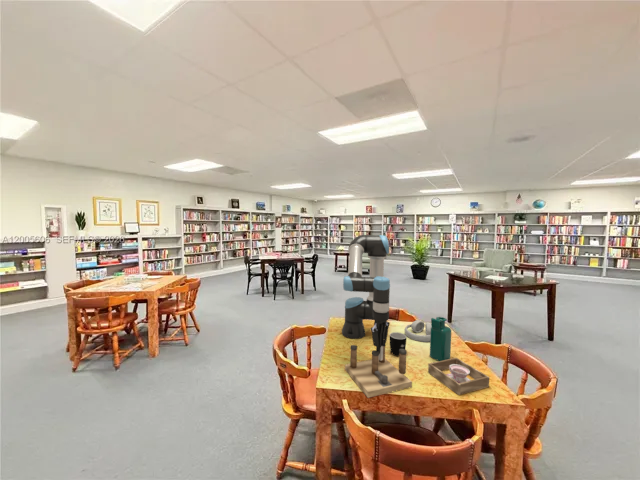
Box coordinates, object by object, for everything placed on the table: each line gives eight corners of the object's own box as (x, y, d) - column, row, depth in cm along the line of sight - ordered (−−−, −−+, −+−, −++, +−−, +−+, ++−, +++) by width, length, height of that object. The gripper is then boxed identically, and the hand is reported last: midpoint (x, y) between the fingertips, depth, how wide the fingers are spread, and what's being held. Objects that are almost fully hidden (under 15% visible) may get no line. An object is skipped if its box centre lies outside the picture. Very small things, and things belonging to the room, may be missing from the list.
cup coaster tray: (428, 372, 125) (428, 363, 125) (455, 366, 131) (456, 357, 131) (458, 395, 108) (459, 384, 108) (488, 386, 114) (489, 377, 114)
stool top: (345, 369, 127) (345, 344, 126) (383, 361, 134) (384, 338, 133) (367, 397, 106) (368, 368, 105) (411, 387, 113) (412, 359, 113)
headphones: (412, 326, 181) (400, 339, 166) (412, 315, 180) (400, 328, 165) (440, 333, 169) (430, 348, 154) (440, 322, 168) (430, 336, 153)
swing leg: (370, 370, 121) (370, 350, 120) (375, 369, 122) (376, 349, 121) (383, 384, 110) (383, 362, 110) (389, 383, 112) (390, 361, 111)
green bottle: (437, 352, 145) (438, 313, 144) (451, 358, 138) (453, 318, 137) (426, 357, 140) (428, 317, 138) (441, 364, 133) (443, 322, 131)
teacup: (479, 384, 116) (479, 371, 116) (464, 393, 110) (465, 379, 109) (453, 371, 126) (453, 359, 126) (438, 379, 120) (439, 366, 119)
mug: (400, 359, 137) (401, 340, 137) (386, 353, 143) (386, 335, 143) (411, 351, 146) (412, 334, 145) (396, 346, 152) (397, 329, 151)
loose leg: (396, 370, 116) (397, 349, 115) (402, 369, 117) (403, 348, 116) (401, 374, 113) (402, 352, 112) (407, 373, 114) (408, 351, 113)
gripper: (381, 305, 128) (380, 351, 130) (365, 311, 119) (364, 361, 121) (395, 309, 123) (393, 357, 124) (379, 315, 114) (378, 367, 115)
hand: (379, 359), depth 122 cm, fingers closed
